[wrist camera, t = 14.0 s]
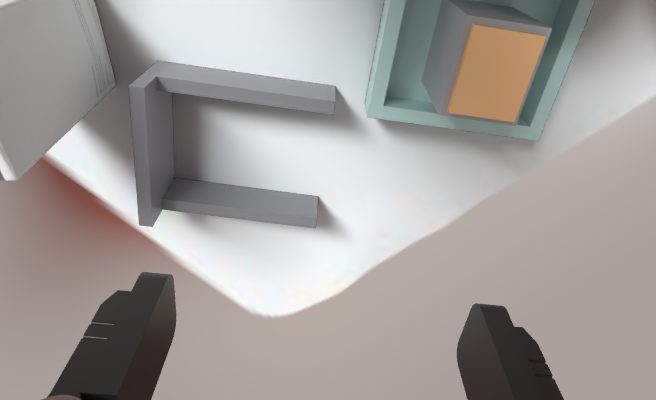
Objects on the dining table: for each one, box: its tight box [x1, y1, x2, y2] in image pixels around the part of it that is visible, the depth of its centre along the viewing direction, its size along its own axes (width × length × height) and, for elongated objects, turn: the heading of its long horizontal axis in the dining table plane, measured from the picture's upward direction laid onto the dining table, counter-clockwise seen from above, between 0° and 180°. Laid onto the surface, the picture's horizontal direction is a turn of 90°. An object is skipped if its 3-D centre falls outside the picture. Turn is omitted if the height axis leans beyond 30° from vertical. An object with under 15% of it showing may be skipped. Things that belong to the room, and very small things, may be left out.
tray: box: [365, 0, 595, 141], centre depth 34 cm, size 11×13×3 cm
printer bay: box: [129, 61, 335, 228], centre depth 36 cm, size 11×14×6 cm
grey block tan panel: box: [421, 0, 553, 126], centre depth 31 cm, size 6×5×8 cm
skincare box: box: [0, 0, 116, 181], centre depth 29 cm, size 8×6×15 cm
